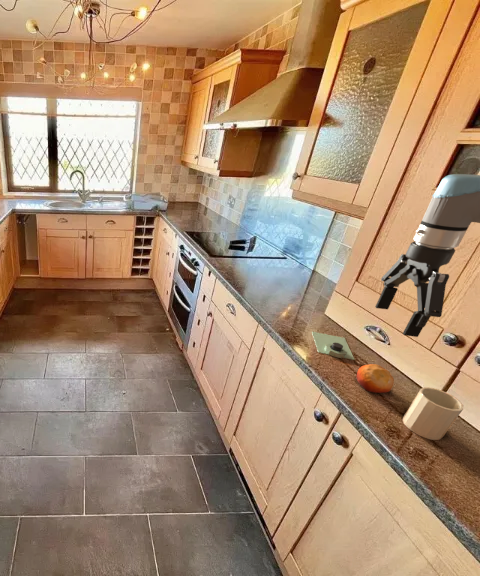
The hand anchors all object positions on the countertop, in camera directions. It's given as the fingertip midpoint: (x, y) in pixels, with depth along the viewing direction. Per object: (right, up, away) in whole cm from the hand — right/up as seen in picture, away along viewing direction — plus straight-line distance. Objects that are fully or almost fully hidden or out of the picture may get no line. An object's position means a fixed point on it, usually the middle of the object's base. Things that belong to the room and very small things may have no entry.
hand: (394, 320), depth 82 cm
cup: (+3, -26, -4) cm, 27 cm away
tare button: (0, -11, +20) cm, 23 cm away
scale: (+2, -12, +25) cm, 27 cm away
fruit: (0, -21, +8) cm, 22 cm away
